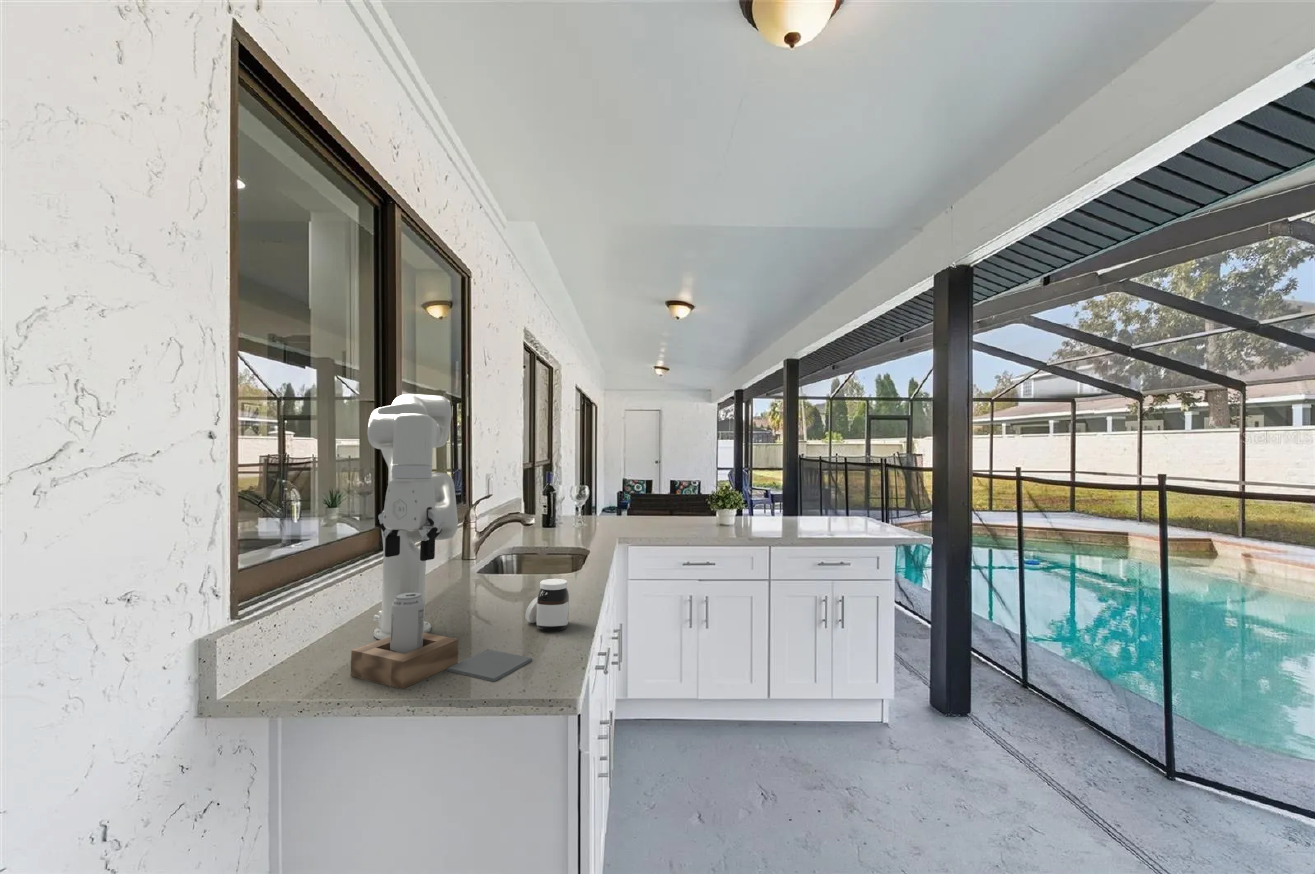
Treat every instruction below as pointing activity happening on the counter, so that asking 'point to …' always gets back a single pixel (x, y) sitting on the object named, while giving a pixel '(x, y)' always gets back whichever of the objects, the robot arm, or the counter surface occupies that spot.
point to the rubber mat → (489, 665)
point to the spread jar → (550, 606)
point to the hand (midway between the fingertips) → (409, 557)
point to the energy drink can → (407, 622)
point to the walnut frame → (403, 661)
